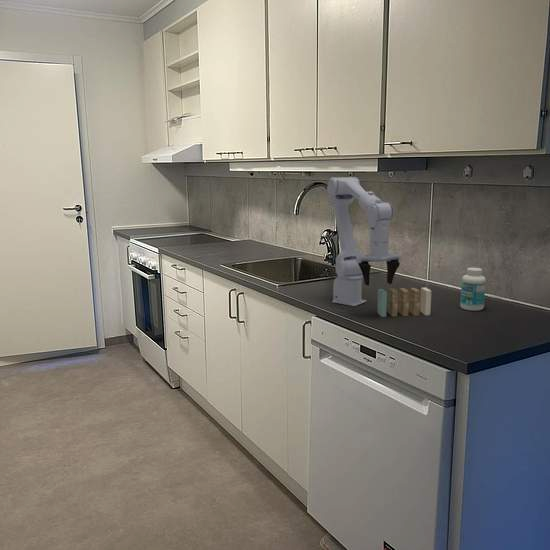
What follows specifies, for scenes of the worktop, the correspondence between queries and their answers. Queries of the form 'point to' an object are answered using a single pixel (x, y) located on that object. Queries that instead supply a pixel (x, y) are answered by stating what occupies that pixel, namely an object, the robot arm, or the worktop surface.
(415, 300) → the domino
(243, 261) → the worktop surface
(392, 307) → the domino
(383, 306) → the domino
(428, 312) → the domino
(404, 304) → the domino
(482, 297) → the pill bottle
